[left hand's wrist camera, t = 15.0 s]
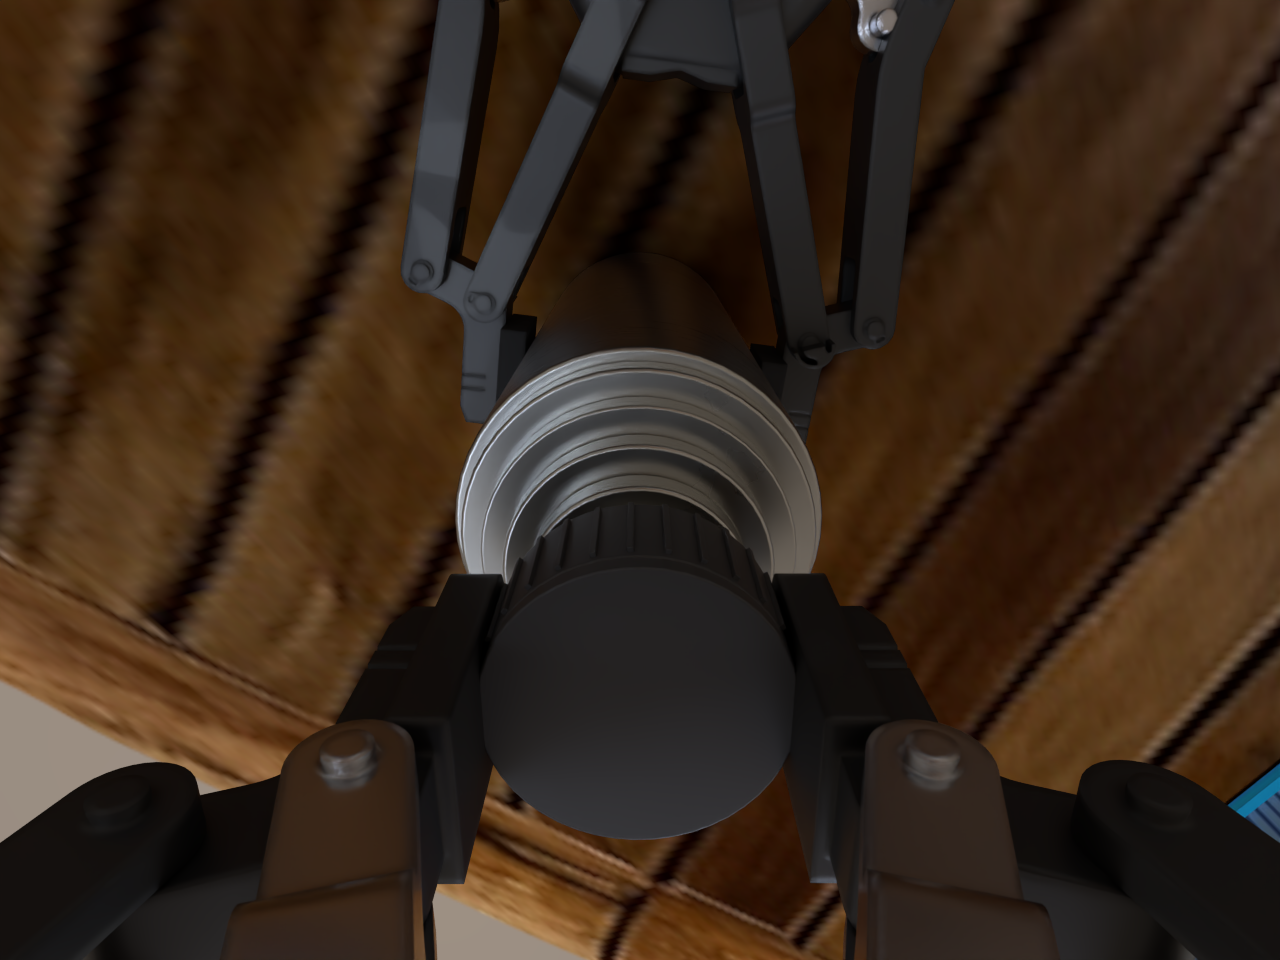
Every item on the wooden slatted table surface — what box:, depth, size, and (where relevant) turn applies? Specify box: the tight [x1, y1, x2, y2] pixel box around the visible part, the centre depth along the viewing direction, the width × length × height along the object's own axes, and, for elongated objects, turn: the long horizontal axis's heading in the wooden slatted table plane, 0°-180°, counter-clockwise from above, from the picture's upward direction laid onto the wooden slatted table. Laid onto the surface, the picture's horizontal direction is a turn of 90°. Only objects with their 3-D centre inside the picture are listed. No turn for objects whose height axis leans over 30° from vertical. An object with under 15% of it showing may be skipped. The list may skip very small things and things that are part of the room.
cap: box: [479, 502, 796, 840], centre depth 11 cm, size 4×4×2 cm
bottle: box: [455, 252, 822, 584], centre depth 21 cm, size 7×7×22 cm
